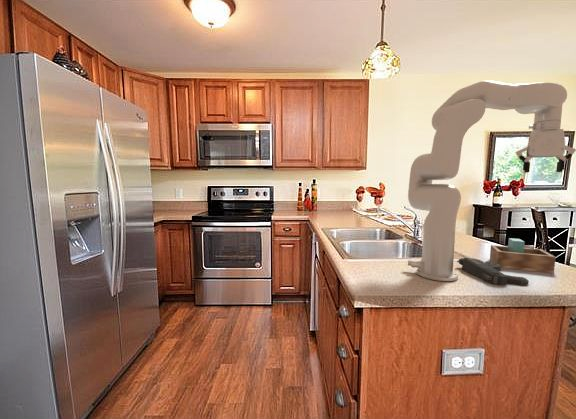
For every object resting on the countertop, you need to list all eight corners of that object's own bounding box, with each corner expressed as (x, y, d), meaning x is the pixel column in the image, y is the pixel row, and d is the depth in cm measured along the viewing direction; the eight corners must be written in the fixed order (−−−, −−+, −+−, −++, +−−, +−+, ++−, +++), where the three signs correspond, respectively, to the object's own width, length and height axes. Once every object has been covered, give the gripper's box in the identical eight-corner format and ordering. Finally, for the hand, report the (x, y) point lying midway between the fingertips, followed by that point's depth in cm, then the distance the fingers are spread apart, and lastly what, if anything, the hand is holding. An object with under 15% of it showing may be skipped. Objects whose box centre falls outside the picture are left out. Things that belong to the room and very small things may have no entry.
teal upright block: (513, 265, 102) (515, 242, 101) (506, 259, 110) (508, 238, 109) (525, 266, 101) (527, 243, 100) (517, 260, 109) (519, 238, 108)
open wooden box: (497, 266, 103) (498, 251, 103) (489, 259, 114) (490, 245, 114) (553, 273, 96) (555, 256, 95) (540, 264, 107) (541, 249, 106)
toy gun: (494, 258, 103) (455, 253, 103) (539, 277, 84) (491, 272, 84) (492, 270, 103) (452, 265, 104) (536, 292, 84) (488, 287, 85)
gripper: (521, 127, 103) (517, 172, 105) (583, 122, 96) (578, 171, 97) (514, 130, 110) (511, 173, 112) (572, 126, 102) (568, 172, 104)
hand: (542, 172), depth 105 cm, fingers open, 9 cm apart
